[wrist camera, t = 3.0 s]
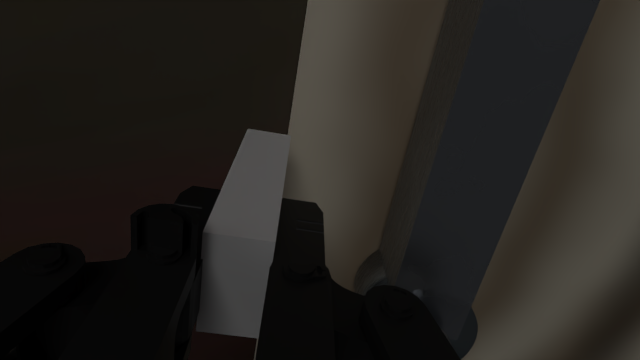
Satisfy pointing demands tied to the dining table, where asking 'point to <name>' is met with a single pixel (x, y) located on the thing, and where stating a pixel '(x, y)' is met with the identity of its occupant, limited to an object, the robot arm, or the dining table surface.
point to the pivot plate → (536, 192)
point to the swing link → (473, 149)
